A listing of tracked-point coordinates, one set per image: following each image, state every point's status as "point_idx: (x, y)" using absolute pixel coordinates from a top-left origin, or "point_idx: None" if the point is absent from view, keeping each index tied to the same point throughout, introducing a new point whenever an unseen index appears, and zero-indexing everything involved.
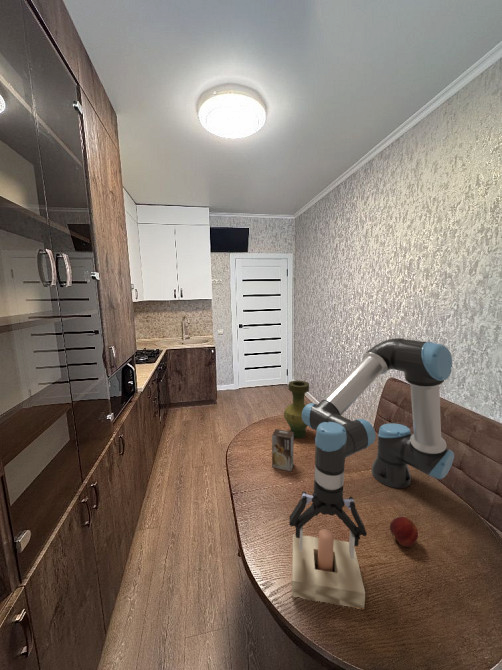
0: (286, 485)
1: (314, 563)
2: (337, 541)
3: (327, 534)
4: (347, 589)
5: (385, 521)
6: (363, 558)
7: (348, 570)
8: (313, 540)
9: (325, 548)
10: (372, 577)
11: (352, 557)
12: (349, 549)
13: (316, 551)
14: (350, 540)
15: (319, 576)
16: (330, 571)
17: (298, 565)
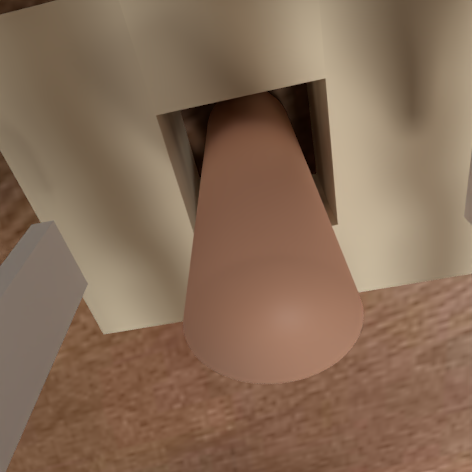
0: (445, 462)
1: None
2: None
3: (260, 340)
4: (60, 5)
5: (31, 439)
6: None
7: (90, 161)
8: None
9: (266, 202)
10: (15, 210)
11: (35, 230)
12: (69, 281)
13: None
14: (17, 352)
15: (287, 31)
16: (212, 130)
17: (459, 58)
